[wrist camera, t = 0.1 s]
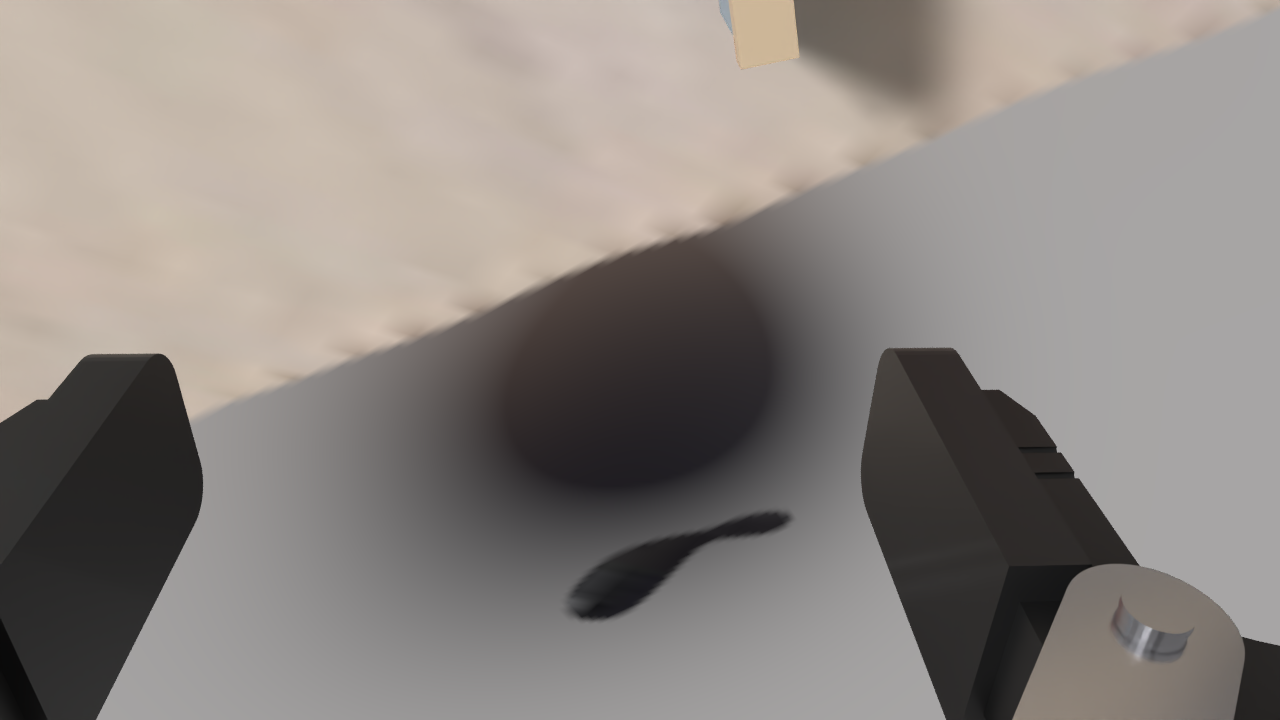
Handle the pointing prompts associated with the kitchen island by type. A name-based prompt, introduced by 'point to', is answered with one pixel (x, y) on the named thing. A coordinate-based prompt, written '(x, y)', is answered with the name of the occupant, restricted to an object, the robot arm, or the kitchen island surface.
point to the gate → (761, 30)
